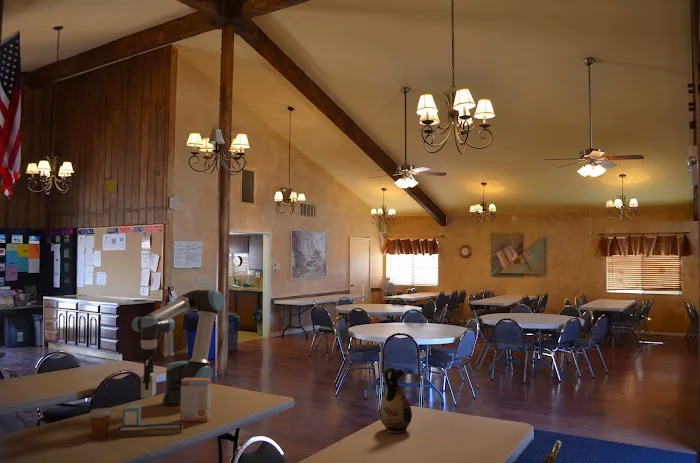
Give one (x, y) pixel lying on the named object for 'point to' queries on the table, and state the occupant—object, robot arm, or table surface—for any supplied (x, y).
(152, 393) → the small box
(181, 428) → the shelf board
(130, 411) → the tea box
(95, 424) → the disposable coffee cup
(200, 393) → the cracker box
